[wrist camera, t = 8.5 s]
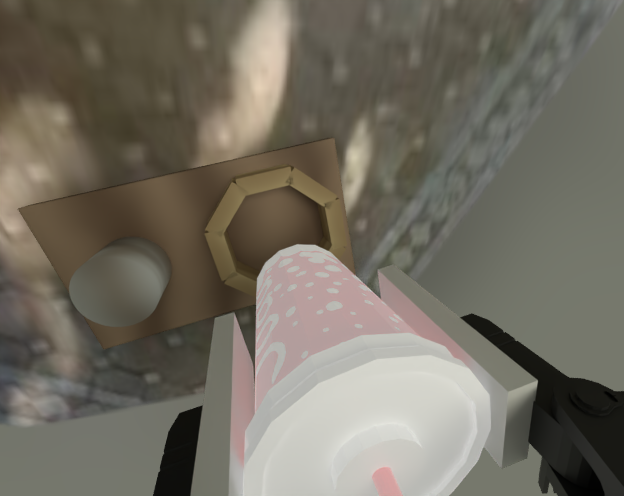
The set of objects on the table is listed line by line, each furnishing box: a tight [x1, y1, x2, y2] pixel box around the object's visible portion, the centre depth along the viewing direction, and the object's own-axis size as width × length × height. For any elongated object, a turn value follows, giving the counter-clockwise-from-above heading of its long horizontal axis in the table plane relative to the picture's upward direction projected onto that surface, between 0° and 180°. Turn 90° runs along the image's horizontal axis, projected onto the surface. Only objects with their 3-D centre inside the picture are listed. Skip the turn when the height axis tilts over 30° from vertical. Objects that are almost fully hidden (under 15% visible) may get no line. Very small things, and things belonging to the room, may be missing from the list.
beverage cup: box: [243, 244, 491, 496], centre depth 9 cm, size 6×6×14 cm
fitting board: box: [18, 138, 355, 349], centre depth 22 cm, size 22×12×5 cm, turn 101°
